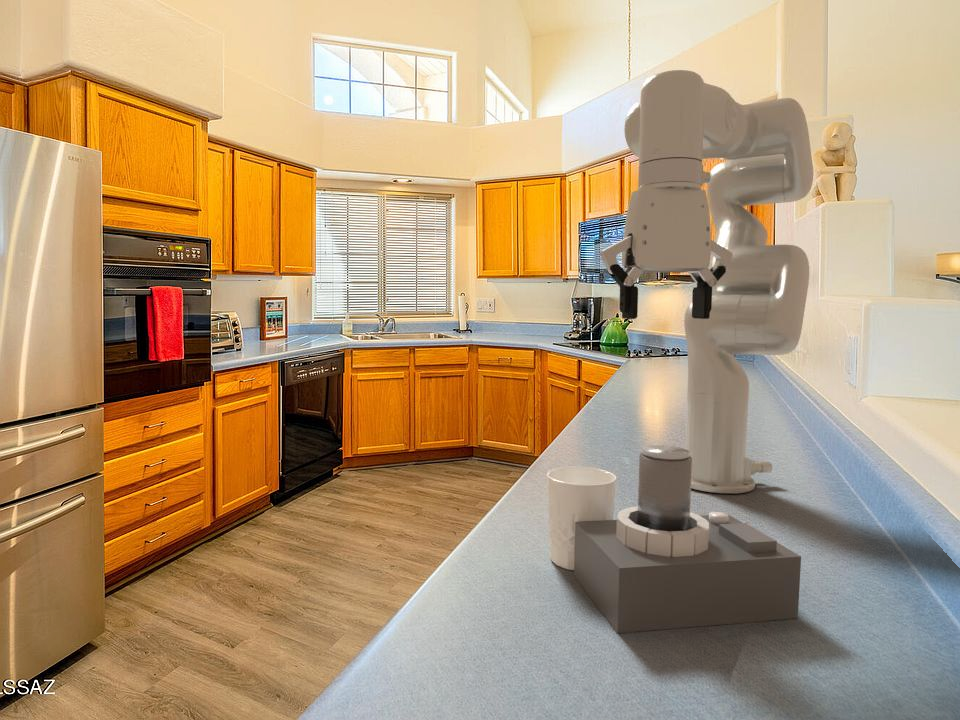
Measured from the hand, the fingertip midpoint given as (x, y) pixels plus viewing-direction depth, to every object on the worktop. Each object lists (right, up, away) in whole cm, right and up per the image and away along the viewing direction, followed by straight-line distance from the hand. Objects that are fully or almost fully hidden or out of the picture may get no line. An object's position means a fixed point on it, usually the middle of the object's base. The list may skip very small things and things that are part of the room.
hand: (665, 318), depth 77 cm
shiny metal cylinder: (-5, -23, -16) cm, 29 cm away
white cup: (-12, -29, -7) cm, 32 cm away
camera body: (-3, -29, -15) cm, 33 cm away
